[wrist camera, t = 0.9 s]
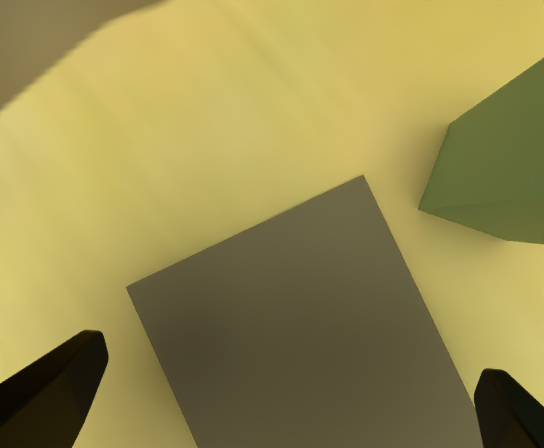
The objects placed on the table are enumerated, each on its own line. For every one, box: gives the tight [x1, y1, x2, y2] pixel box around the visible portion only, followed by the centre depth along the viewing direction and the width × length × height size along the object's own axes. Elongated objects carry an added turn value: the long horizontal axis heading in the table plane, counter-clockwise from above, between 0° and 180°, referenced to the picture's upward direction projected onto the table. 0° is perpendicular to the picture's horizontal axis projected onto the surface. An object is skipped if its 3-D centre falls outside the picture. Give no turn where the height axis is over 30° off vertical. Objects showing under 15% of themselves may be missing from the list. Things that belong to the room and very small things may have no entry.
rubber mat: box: [126, 175, 483, 448], centre depth 23 cm, size 16×15×1 cm
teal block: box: [418, 58, 544, 244], centre depth 16 cm, size 5×5×12 cm
